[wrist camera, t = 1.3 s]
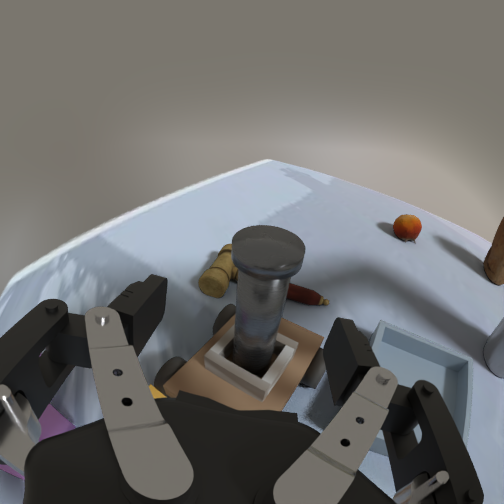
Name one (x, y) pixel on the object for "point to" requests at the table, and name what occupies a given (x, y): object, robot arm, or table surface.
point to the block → (496, 257)
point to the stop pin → (262, 291)
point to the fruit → (407, 227)
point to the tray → (425, 373)
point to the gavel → (224, 270)
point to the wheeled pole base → (239, 380)
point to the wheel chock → (156, 392)
